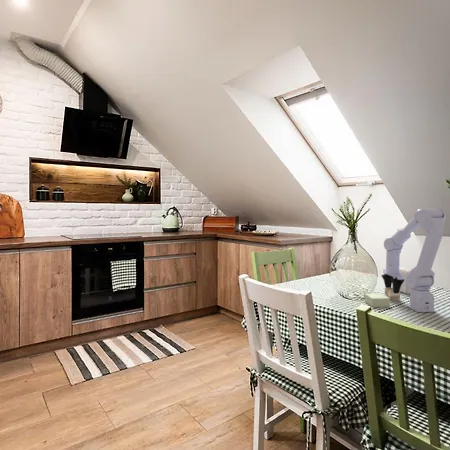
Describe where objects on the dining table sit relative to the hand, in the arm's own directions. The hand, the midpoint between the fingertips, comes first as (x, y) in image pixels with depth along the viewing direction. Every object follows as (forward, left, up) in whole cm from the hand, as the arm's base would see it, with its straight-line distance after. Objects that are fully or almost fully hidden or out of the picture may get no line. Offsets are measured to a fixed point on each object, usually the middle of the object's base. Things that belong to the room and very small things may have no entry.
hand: (392, 291), depth 168 cm
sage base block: (-8, +11, -4) cm, 14 cm away
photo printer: (+14, -12, -4) cm, 19 cm away
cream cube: (0, 0, -4) cm, 4 cm away
